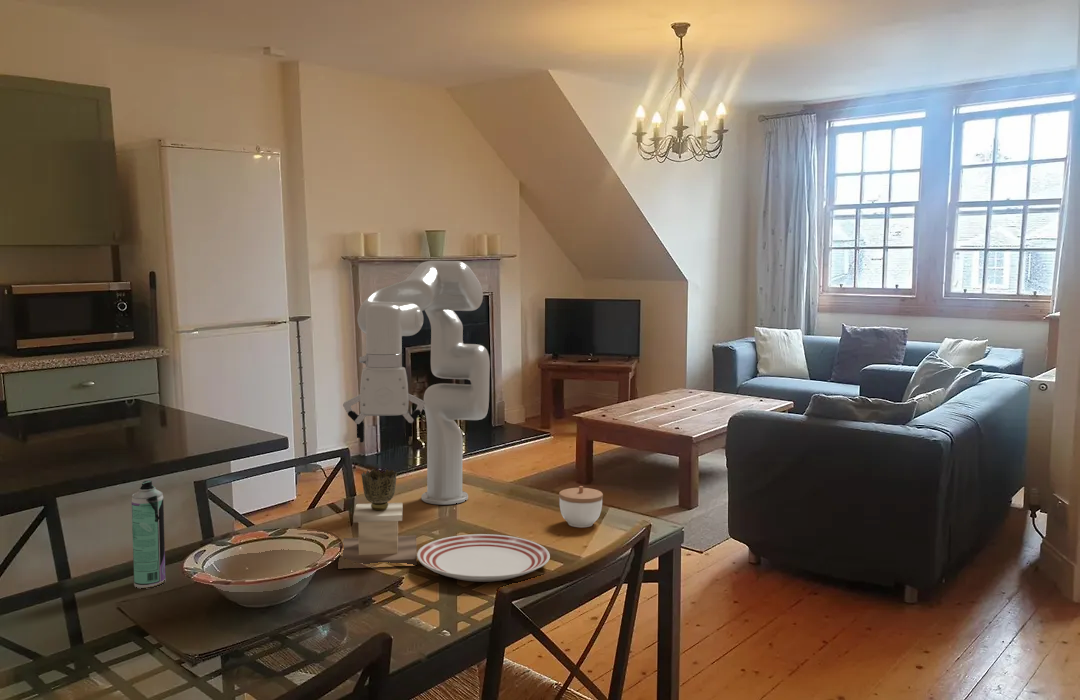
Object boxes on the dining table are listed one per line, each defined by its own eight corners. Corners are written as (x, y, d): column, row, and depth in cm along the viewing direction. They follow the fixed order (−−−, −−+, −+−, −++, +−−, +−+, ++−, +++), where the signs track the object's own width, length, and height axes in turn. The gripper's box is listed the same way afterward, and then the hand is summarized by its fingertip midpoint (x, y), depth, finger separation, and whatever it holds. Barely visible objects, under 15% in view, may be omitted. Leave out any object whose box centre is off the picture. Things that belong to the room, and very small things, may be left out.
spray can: (171, 580, 156) (169, 479, 155) (149, 590, 151) (146, 486, 150) (149, 576, 158) (147, 477, 156) (127, 586, 153) (124, 483, 151)
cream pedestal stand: (343, 544, 179) (343, 500, 178) (416, 541, 181) (416, 498, 181) (337, 569, 163) (337, 521, 162) (416, 566, 166) (416, 518, 165)
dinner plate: (489, 537, 185) (489, 523, 185) (577, 568, 166) (577, 552, 166) (390, 566, 166) (390, 550, 166) (476, 604, 147) (476, 586, 147)
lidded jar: (611, 523, 197) (611, 486, 197) (584, 533, 189) (585, 494, 188) (576, 515, 204) (577, 479, 203) (549, 524, 196) (550, 486, 195)
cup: (401, 504, 175) (400, 468, 174) (392, 514, 168) (391, 476, 167) (367, 504, 176) (367, 468, 175) (357, 513, 168) (356, 476, 168)
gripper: (341, 364, 166) (342, 445, 168) (425, 363, 169) (425, 443, 170) (344, 360, 173) (345, 438, 175) (424, 359, 176) (425, 436, 178)
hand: (384, 440), depth 173 cm, fingers open, 9 cm apart
